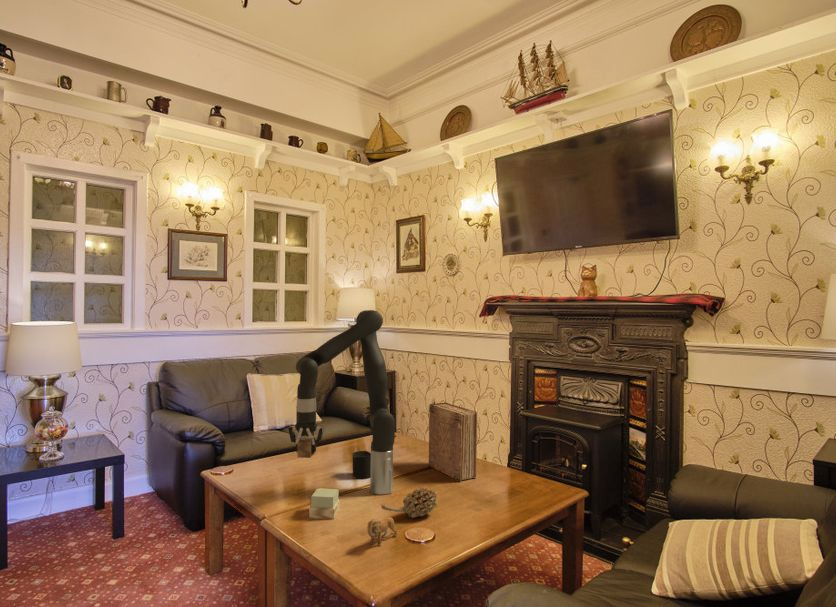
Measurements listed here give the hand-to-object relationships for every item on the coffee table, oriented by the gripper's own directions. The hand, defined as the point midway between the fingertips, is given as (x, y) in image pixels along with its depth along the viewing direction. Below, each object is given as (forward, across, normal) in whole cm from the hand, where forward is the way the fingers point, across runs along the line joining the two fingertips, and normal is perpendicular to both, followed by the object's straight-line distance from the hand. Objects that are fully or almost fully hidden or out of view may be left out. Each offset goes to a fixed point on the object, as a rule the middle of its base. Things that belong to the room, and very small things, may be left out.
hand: (305, 453), depth 194 cm
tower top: (+16, -10, +9) cm, 21 cm away
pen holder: (+20, -16, -33) cm, 41 cm away
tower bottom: (+20, -10, +9) cm, 24 cm away
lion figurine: (+20, -35, +28) cm, 49 cm away
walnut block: (+1, 0, 0) cm, 1 cm away
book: (+20, -56, -44) cm, 74 cm away
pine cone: (+20, -42, +9) cm, 47 cm away
